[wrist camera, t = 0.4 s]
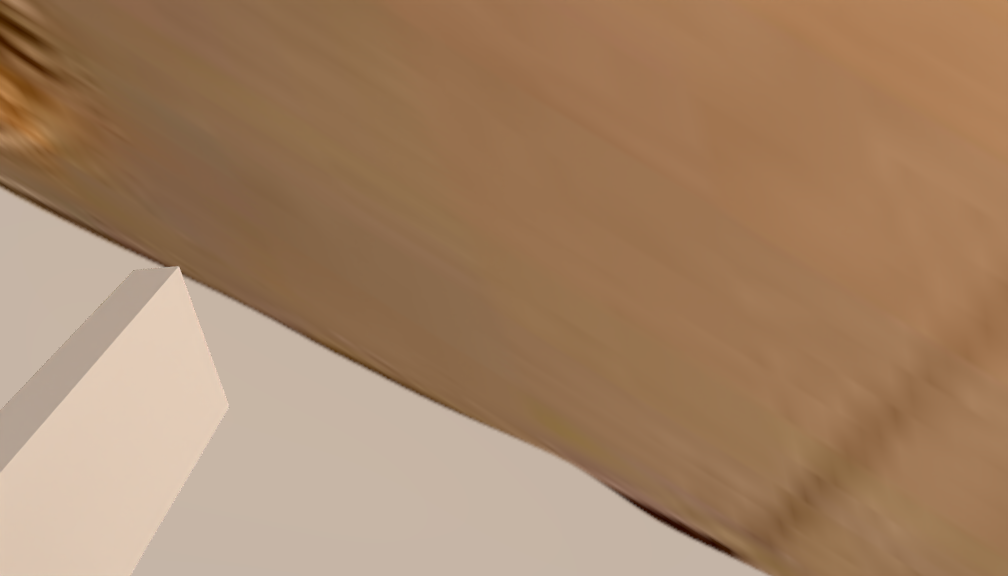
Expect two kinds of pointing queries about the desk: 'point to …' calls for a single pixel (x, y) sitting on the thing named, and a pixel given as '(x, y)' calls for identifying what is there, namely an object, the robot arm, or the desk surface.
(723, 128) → the desk surface
